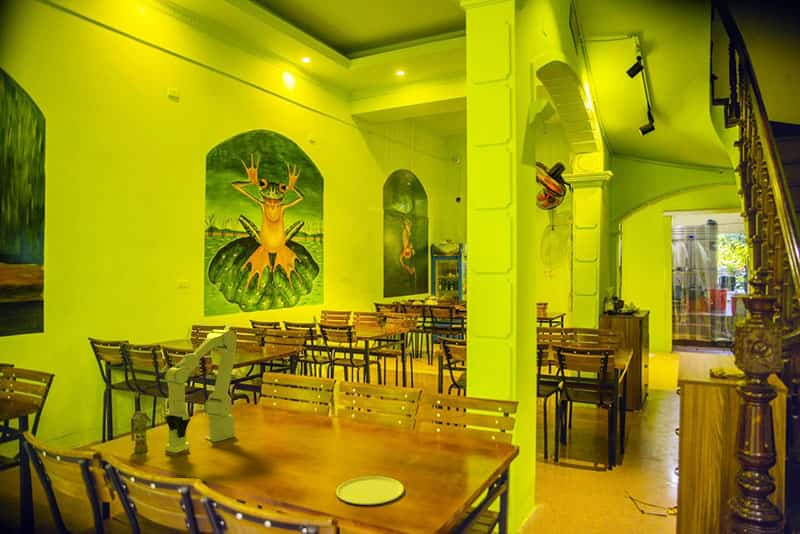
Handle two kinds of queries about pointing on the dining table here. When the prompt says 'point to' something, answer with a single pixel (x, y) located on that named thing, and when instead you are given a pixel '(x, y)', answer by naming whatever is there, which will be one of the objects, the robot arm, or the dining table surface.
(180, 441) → the sage block
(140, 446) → the grenade
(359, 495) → the plate
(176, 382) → the robot arm
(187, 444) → the cream slab
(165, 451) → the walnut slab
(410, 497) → the dining table surface
